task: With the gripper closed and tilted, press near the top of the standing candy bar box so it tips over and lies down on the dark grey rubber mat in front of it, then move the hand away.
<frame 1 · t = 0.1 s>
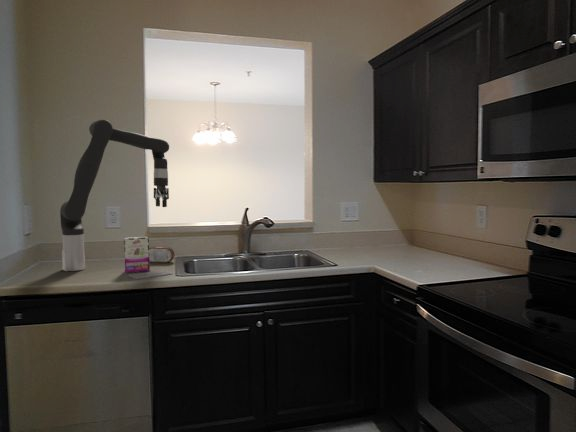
hand: (161, 206, 229), 29 cm above the table, tool pointing down, fingers open, 8 cm apart
tin: (160, 262, 222), on the table
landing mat: (150, 275, 191), on the table
candy bar box: (137, 271, 199), on the table
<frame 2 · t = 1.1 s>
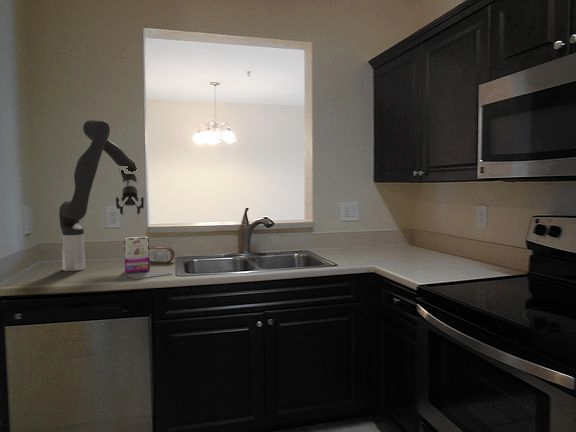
hand: (130, 213, 214), 26 cm above the table, tool tilted 45°, fingers open, 7 cm apart
nothing on the table moved.
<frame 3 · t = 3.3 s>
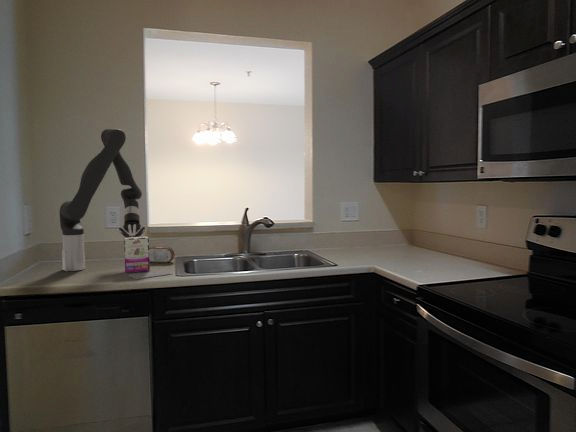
hand: (132, 243, 207), 12 cm above the table, tool tilted 45°, fingers closed
nothing on the table moved.
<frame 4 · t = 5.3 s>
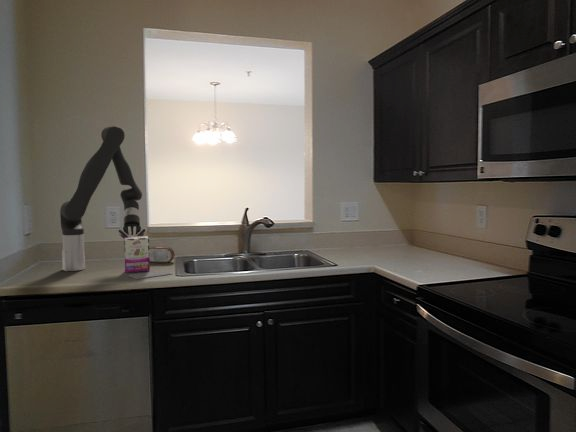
hand: (132, 246, 199), 12 cm above the table, tool tilted 45°, fingers closed
candy bar box: (137, 271, 199), on the table, touching gripper
everything else where it was.
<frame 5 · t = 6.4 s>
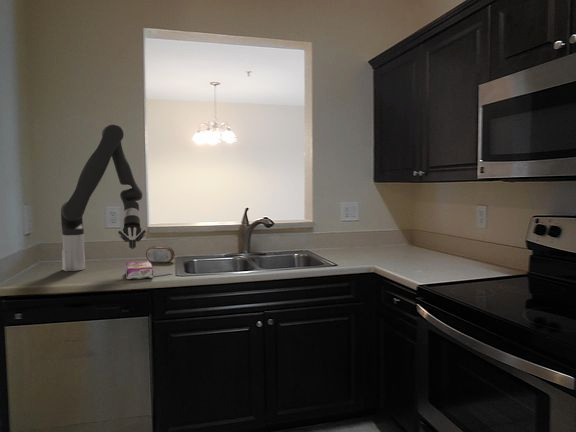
hand: (132, 247, 194), 12 cm above the table, tool tilted 45°, fingers closed
candy bar box: (137, 266, 197), point 3 cm above the table, touching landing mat
everything else where it was.
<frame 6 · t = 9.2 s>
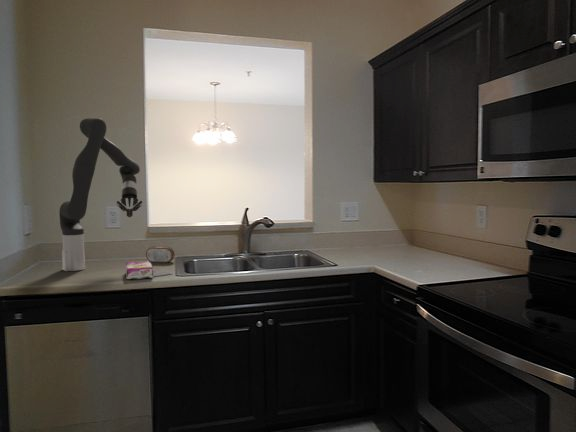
hand: (129, 216, 209), 25 cm above the table, tool tilted 45°, fingers closed
nothing on the table moved.
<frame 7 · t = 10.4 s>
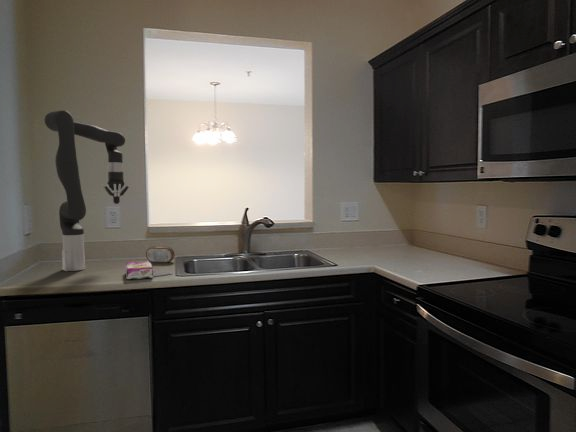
hand: (116, 203, 223), 31 cm above the table, tool pointing down, fingers closed
nothing on the table moved.
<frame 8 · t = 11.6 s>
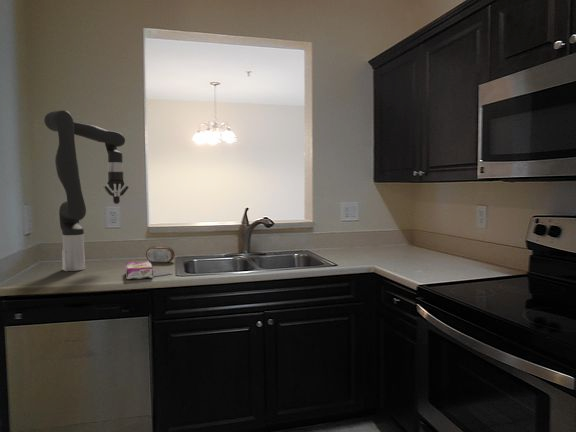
hand: (116, 203, 223), 31 cm above the table, tool pointing down, fingers closed
nothing on the table moved.
at the end: candy bar box tilted 90°; candy bar box touching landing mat; candy bar box inside the target area (5.7 cm from its centre), point 2.9 cm above the table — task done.
